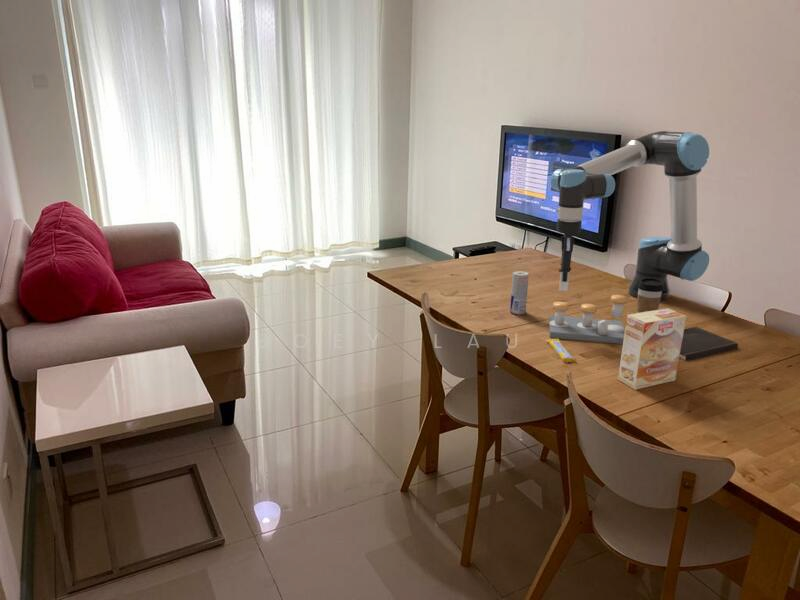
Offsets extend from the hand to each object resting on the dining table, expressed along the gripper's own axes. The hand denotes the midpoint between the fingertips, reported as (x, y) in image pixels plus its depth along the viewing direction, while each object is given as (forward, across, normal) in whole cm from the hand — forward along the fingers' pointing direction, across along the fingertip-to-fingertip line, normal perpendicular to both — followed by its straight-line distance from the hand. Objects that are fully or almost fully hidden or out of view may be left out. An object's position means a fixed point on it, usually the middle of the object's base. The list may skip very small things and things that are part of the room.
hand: (563, 289), depth 203 cm
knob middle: (+12, 0, +9) cm, 15 cm away
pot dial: (+12, +6, +13) cm, 19 cm away
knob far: (+12, 0, 0) cm, 12 cm away
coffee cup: (+15, -15, +30) cm, 36 cm away
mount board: (+14, 0, +8) cm, 16 cm away
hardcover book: (+15, +4, +40) cm, 43 cm away
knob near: (+8, 0, +18) cm, 19 cm away
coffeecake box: (+14, +34, +22) cm, 43 cm away
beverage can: (+14, -14, -14) cm, 24 cm away
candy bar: (+15, +20, 0) cm, 24 cm away
